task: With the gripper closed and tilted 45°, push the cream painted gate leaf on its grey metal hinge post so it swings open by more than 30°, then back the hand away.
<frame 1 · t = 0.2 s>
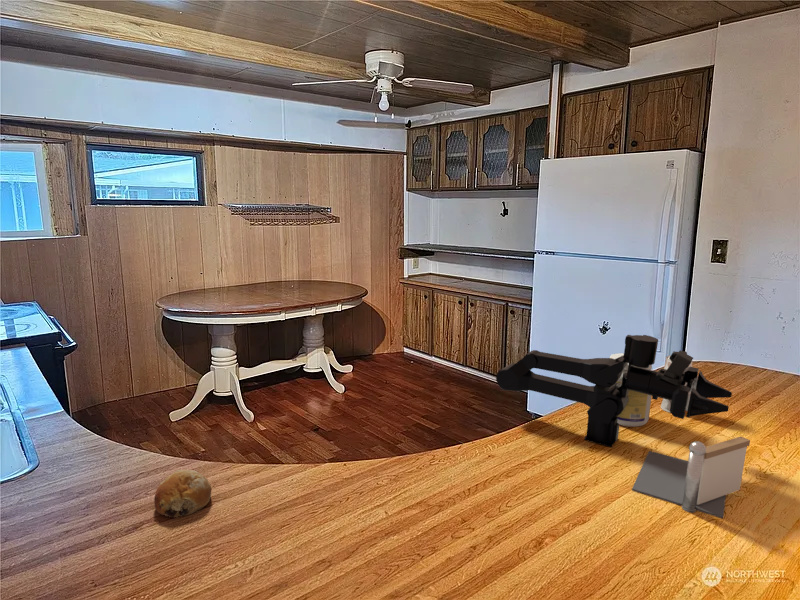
hand: (730, 401, 111), 16 cm above the kitchen counter, tool horizontal, fingers open, 9 cm apart
supplement tub: (623, 419, 142), on the kitchen counter
beer glass: (672, 410, 148), on the kitchen counter
gate leaf: (720, 470, 103), point 6 cm above the kitchen counter, hinge at 0.0°
bread roll: (183, 505, 99), on the kitchen counter
gate post: (688, 508, 101), on the kitchen counter
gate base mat: (681, 481, 110), on the kitchen counter
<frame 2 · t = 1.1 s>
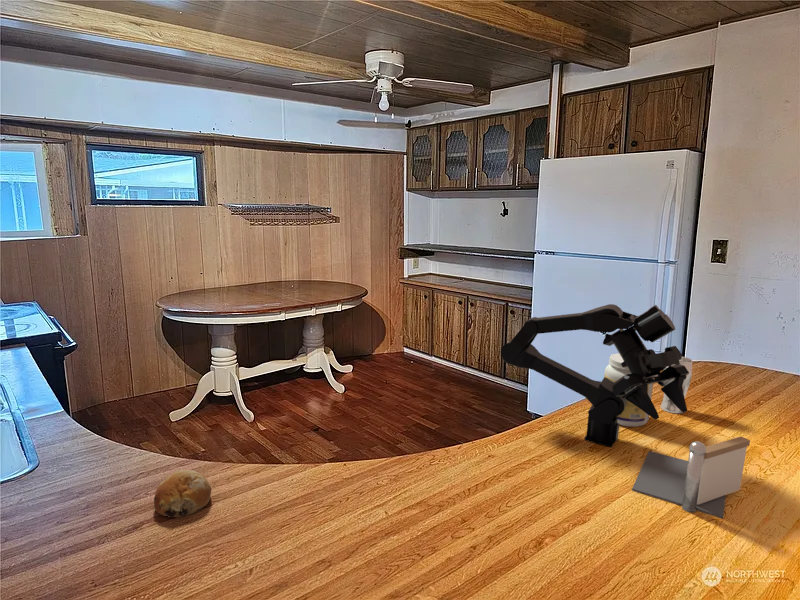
hand: (671, 415, 113), 13 cm above the kitchen counter, tool tilted 45°, fingers open, 9 cm apart
nothing on the kitchen counter moved.
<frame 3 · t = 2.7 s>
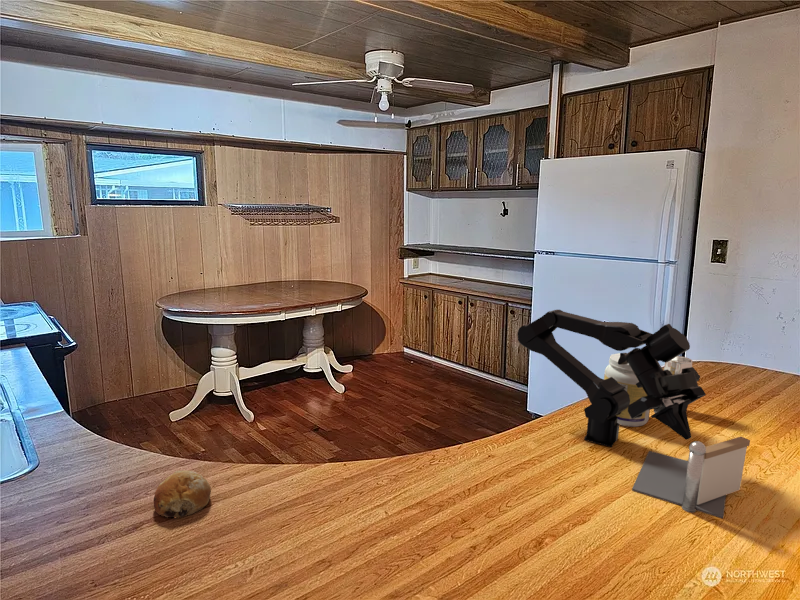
hand: (688, 438, 110), 9 cm above the kitchen counter, tool tilted 45°, fingers closed
nothing on the kitchen counter moved.
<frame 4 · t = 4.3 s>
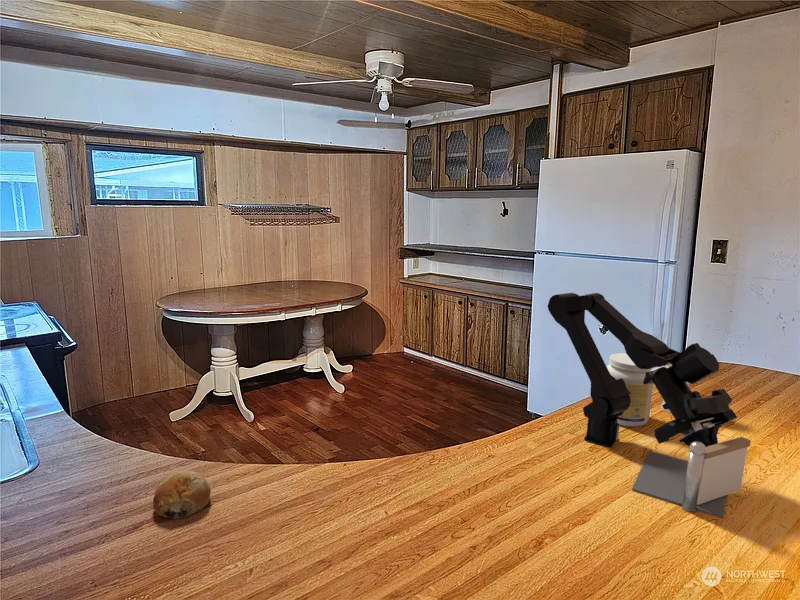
hand: (719, 465, 104), 7 cm above the kitchen counter, tool tilted 45°, fingers closed, pressing on gate leaf
gate leaf: (720, 470, 103), point 6 cm above the kitchen counter, hinge at -0.6°, touching gripper
everything else where it was.
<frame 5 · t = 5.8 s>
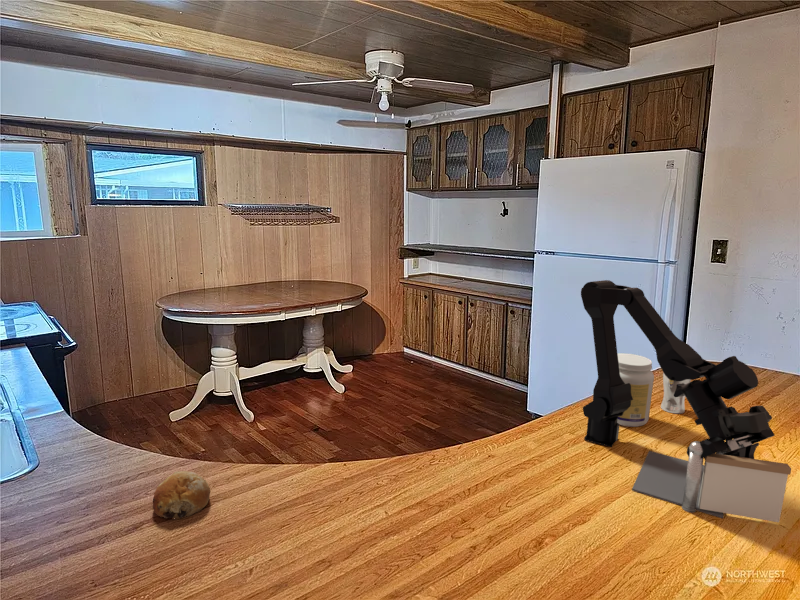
hand: (756, 486, 97), 6 cm above the kitchen counter, tool tilted 45°, fingers closed
gate leaf: (742, 487, 97), point 6 cm above the kitchen counter, hinge at -43.0°, touching gripper
everything else where it was.
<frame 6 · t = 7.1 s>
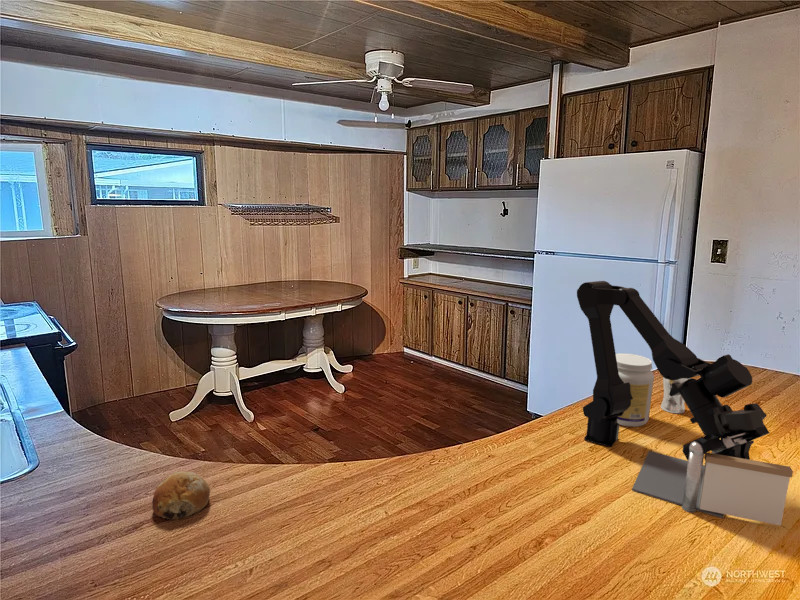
hand: (752, 484, 98), 6 cm above the kitchen counter, tool tilted 45°, fingers closed
gate leaf: (743, 488, 96), point 6 cm above the kitchen counter, hinge at -47.0°
everything else where it was.
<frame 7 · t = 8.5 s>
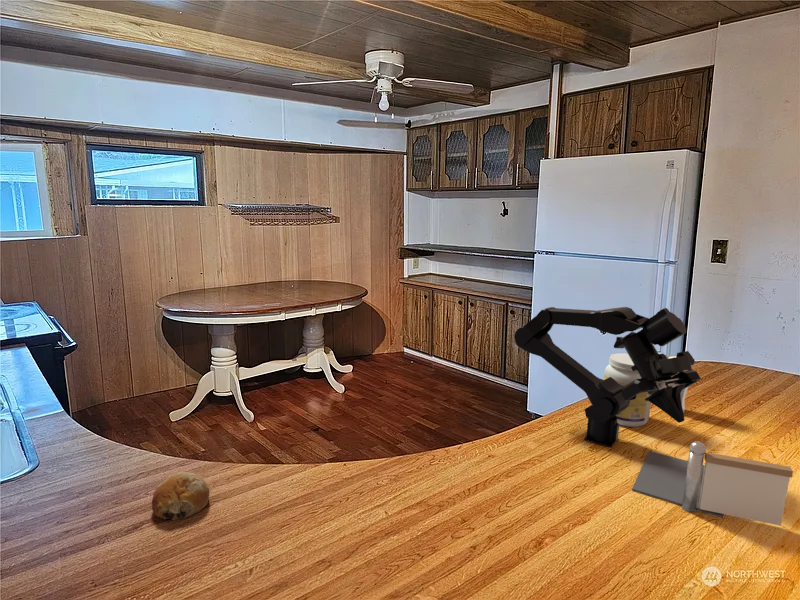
hand: (681, 421, 110), 12 cm above the kitchen counter, tool tilted 45°, fingers closed
nothing on the kitchen counter moved.
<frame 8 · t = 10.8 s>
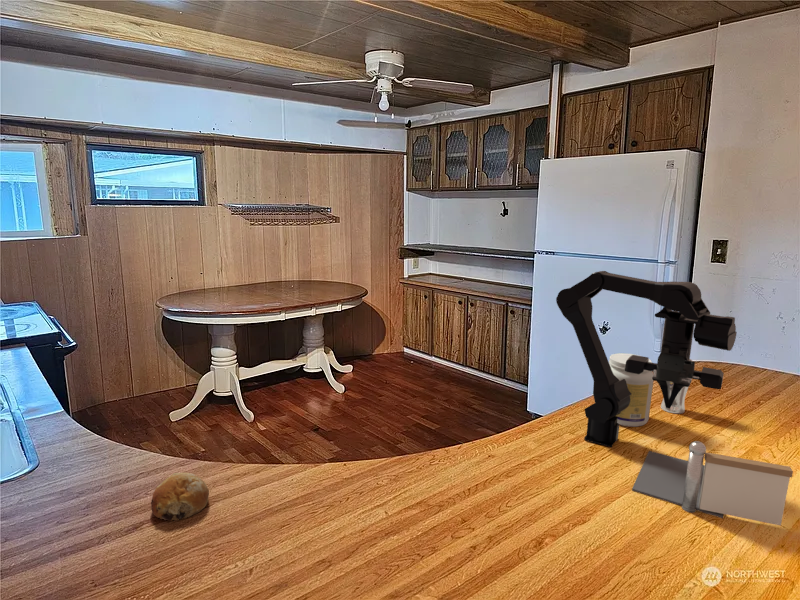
hand: (668, 407, 116), 13 cm above the kitchen counter, tool pointing down, fingers closed
at the end: gate leaf at -47° (first picture: +0°) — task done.
